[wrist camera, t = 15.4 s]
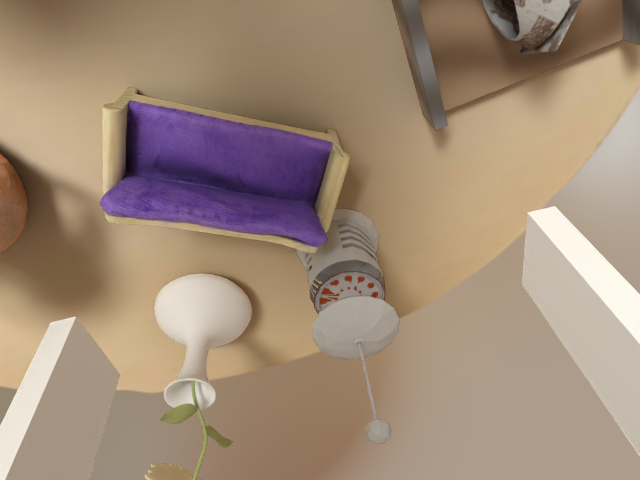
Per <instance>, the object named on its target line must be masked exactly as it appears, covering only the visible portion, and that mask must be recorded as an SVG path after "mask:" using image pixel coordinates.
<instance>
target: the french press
mask: <svg viewBox="0 0 640 480" xmlns="http://www.w3.org/2000/svg"><path fill="white" fill-rule="evenodd" d="M326 235H327V237H328V242H326V243H323V244H321V245H319V247H318V250H317V252H315V253H308V252H304V251H300V250H297V249H296V251H297V256H298V257H299V259H300V261H301V262H302V264H303V266H304V267H306V268H307V275H308V282H309V291H310V298H311V300H312V302H313V304H314V308H315V309H316V311H317V313H318V314H319V315H318V316H317V318H316V320H315V322H314V324H313V326H312V329H313V340H314V341H315V343H316V344H317V346H318V348H319V349H320V350H322V351H323V352H325V353H327V354H328V355H330V356H332V357H337V358H341V359H361V360H362V365H363V370H364V374H365V379H366V384H367V388H368V393H369V397H370V402H371V407H372V412H373V416H374V421H372V422H371V423H369V424H368V425H367V426H366V428H365V430H366V435H367V438H368V439H369V441H371V442H373V443H375V444H383V443H385V442H386V441H387V440H388V439H389V437H390V436H391V427H390V424H389V422H387V421H385V420H377V416H376V411H375V406H374V401H373V397H372V392H371V388H370V383H369V379H368V374H367V371H366V365H365V361H364V358H366V357H368V356H372V355H374V354H377V353H379V352H380V351H382V350H383V349H384V348H386V347H387V346H389V345H390V344H391V343H392V341H393V339H394V338H395V336H396V335H397V333H398V329H399V321H400V320H399V317H398V315H397V313H396V311H395V309H394V308H393V307H392V306H390V305H389V304H388V303H386V302H385V283H384V276H383V273H382V271H381V267H380V264H379V262H378V258H376V257H377V256H376V252H377V250H378V244H379V234H378V232H377V229H376V227H375V225H374V223H373V222H372V221H371V220H370V219H369V218H367V217H366V216H365V215H364V214H363V213H360V212H357V211H353V210H350V209H347V208H345V209H335V211H334V214H333V217H332V220H331V223H330V227H329V230H328V231H327V232H326ZM374 257H375V260H374V259H373V258H374ZM376 260H377V261H376ZM375 267H376V268H375ZM308 269H309V270H310V271H309V270H308ZM378 270H380V273H379V275H378V274H377V272H378ZM308 272H309V273H308ZM381 273H382V282H380V281H379V280H380V278H381ZM315 278H316V279H317V280H318V281H322V282H324V283H322V284H319V283H318V282H317V281H315V280H314V279H315ZM313 282H314V283H315V284H316V285H317V286H318V287H319V288H318V289H317V288H316V287H315V286H314V285H313V284H312V283H313ZM311 285H312V287H313V289H314V290H315V291H316V294H315V293H314V292H313V289H312V287H311ZM310 287H311V289H310ZM311 290H312V292H313V294H312V292H311ZM313 295H314V297H313Z"/></svg>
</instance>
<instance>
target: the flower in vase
mask: <svg viewBox="0 0 640 480" xmlns="http://www.w3.org/2000/svg"><path fill="white" fill-rule="evenodd" d="M154 312H155V316H156V320H157V322H158V325H159V326H160V328H161V329H162V330H163V332H164V333H165V334H166V335H167V336H169V337H170V338H172V339H173V340H174V341H176V342H178V343H180V344H182V345H184V346H187V352H186V357H185V361H184V364H183V367H182V370H181V372H180V374H179V376H178V377H177V379H176V380H175V381H173V382H172V383H170V384H169V385H168V386H167V387H166V389H165V391H164V399H165V400H166V402H167V403H168V404H169V405H170V406H172V407H173V409H171V410H170V411H168V412H167V413H166V414H165V415H164V416H163V417H162V418H161V419H160V420H162V421H165V422H168V423H172V424H177V423H180V422H183V421H184V420H186V419H187V418H189V417H190V416H192V415H193V414H194V413H195V412H197V413H198V416H199V419H200V421H201V424H202V428H203V432H204V444H203V448H202V452H201V455H200V458H199V461H198V464H197V467H196V470H195V473H194V476H192V474H191V473H190V471H188V470H186V469H181V468H180V467H179V466H177V465H174V464H172V465H169V464H167V463H163V464H162V465H160V464H157V463H153V464H151V467H152V468H150V469H148V472H149V473H148V474H146V475H145V478H146V479H147V480H201V479H200V478H199V477H197V475H198V472H199V469H200V466H201V463H202V460H203V456H204V454H205V450H206V447H207V439H208V435H209V436H210V437H211V438H213V439H214V440H215V441H216V442H217V443H218V444H219V445H220V446H222V447H228V446H229V445H231V444H232V441H231V440H228V439H226V438H224V437H223V436H221V435H220V434H219V433H218V432H217V431H216V430H215V429H214V428H213V427H211V426H207V427H206V425H205V422H204V419H203V416H202V413H201V411H200V410H204V409H206V408H208V407H209V406H211V405H212V404H213V403H214V401H215V399H216V392H215V390H214V388H213V387H212V386H211V385H210V384H209V381H208V378H207V372H206V363H207V354H208V350H209V349H210V348H216V347H220V346H223V345H225V344H228V343H230V342H232V341H233V340H235V339H237V338H238V337H239V336H240V335H241V334H242V333H243V332H244V330H245V329H246V327H247V326H248V324H249V322H250V319H251V315H252V307H251V303H250V301H249V298H248V297H247V295H246V294H245V292H244V291H243V290H242V289H241V288H240V287H239V286H237V285H236V284H235V283H233V282H232V281H230V280H228V279H226V278H224V277H221V276H217V275H213V274H205V273H197V274H190V275H185V276H182V277H180V278H177V279H175V280H173V281H171V282H170V283H168V284H167V285H165V286H164V287H163V288H162V289H161V291H160V292H159V293H158V295H157V297H156V300H155V304H154ZM207 434H208V435H207Z"/></svg>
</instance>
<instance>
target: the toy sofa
mask: <svg viewBox="0 0 640 480" xmlns="http://www.w3.org/2000/svg"><path fill="white" fill-rule="evenodd" d="M102 155H103V198H102V200H101V202H100V205H101V206H102V207H103V209H104V211H105V219H106V220H107V221H108V222H110V223H114V224H128V225H151V226H160V227H168V228H176V229H183V230H190V231H198V232H204V233H212V234H218V235H225V236H232V237H239V238H246V239H253V240H260V241H267V242H273V243H278V244H282V245H285V246H288V247H291V248H294V249H297V250H300V251H304V252H308V253H315V252H317V250H318V247H319V245H321V244H323V243H326V242H328V237H327V235H326V232H327V231H328V230H329V227H330V223H331V220H332V217H333V214H334V211H335V207H336V204H337V201H338V198H339V195H340V191H341V188H342V185H343V182H344V179H345V175H346V172H347V169H348V166H349V163H350V160H351V156H350V155H349V154H348V153H347V152H345V151H343V150H342V147H341V145H340V141H339V138H338V135H337V131H336V130H334V129H330V128H329V129H328V130H327V133H322V132H317V131H312V130H307V129H301V128H296V127H291V126H287V125H282V124H277V123H272V122H267V121H262V120H257V119H252V118H247V117H242V116H238V115H233V114H228V113H223V112H218V111H213V110H208V109H204V108H199V107H194V106H189V105H185V104H180V103H175V102H171V101H166V100H161V99H157V98H152V97H147V96H143V95H138V94H137V89H136V88H132V87H129V88H127V89H126V90H125V91H124V92H123V94H122V95H121V97H120V98H119V99H118V100H117V101H116V102H115V104H105V105H103V107H102Z"/></svg>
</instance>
